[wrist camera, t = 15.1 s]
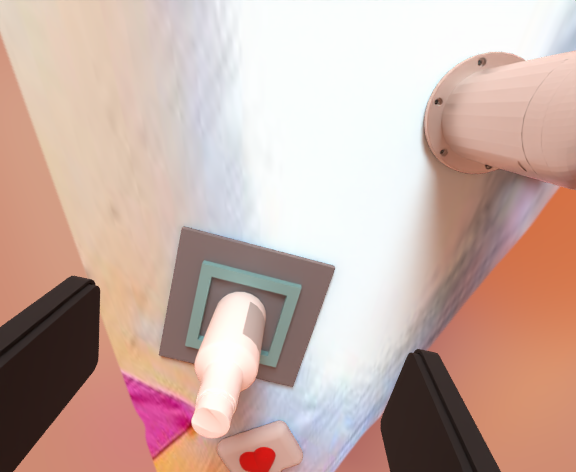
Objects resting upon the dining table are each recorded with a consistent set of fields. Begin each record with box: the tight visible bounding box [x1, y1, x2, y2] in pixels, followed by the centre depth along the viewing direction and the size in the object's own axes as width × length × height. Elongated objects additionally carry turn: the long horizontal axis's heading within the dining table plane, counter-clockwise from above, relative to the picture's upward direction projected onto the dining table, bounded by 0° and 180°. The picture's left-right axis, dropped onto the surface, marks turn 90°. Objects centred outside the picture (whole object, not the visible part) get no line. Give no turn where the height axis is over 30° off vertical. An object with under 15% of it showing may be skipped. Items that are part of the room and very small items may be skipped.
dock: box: [159, 226, 335, 386], centre depth 48 cm, size 20×20×2 cm
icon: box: [217, 421, 303, 472], centre depth 56 cm, size 12×4×10 cm
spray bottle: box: [192, 292, 266, 438], centre depth 39 cm, size 7×7×18 cm
